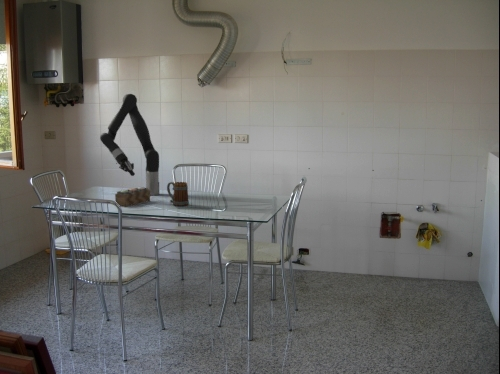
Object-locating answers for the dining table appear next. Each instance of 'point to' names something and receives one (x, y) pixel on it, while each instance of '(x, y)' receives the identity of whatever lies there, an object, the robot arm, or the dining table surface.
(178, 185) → the mug
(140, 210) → the dining table surface
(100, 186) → the dining table surface
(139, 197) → the wooden egg crate
